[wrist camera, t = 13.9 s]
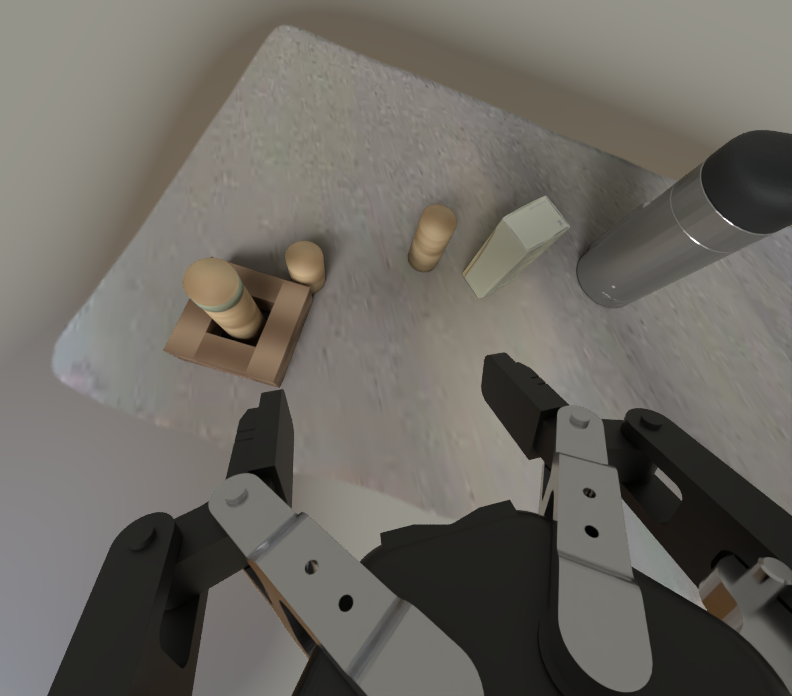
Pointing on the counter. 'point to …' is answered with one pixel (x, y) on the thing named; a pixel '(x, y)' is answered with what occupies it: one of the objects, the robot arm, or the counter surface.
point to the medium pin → (431, 237)
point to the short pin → (306, 265)
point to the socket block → (262, 363)
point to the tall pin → (224, 299)
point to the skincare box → (514, 245)
